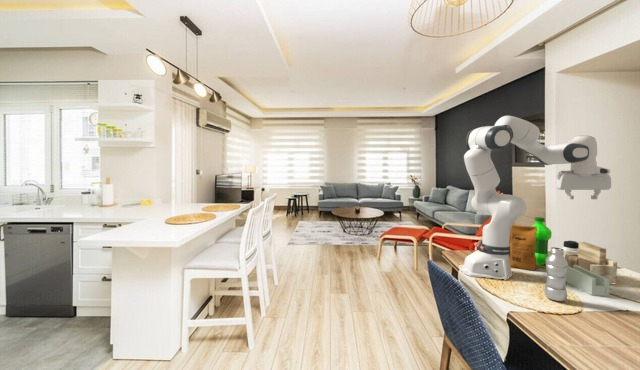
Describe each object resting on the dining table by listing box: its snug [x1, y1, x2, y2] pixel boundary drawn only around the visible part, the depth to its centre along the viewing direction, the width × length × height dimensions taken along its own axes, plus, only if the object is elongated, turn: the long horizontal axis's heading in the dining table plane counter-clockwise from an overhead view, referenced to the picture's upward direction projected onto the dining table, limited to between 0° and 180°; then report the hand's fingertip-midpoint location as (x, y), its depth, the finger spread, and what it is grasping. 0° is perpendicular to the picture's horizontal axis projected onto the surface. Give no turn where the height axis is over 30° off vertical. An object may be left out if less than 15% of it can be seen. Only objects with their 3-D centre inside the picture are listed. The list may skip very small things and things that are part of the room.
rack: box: [563, 253, 618, 284], centre depth 126 cm, size 10×18×10 cm, turn 171°
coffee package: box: [509, 223, 537, 271], centre depth 139 cm, size 10×12×22 cm
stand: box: [565, 265, 611, 297], centre depth 115 cm, size 6×17×7 cm, turn 171°
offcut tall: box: [578, 259, 597, 271], centre depth 124 cm, size 3×6×8 cm, turn 171°
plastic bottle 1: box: [531, 216, 552, 266], centre depth 144 cm, size 10×10×25 cm
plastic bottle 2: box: [543, 246, 568, 302], centre depth 103 cm, size 6×7×20 cm
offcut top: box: [569, 256, 583, 264], centre depth 130 cm, size 3×4×3 cm
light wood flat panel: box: [578, 241, 607, 265], centre depth 126 cm, size 2×12×15 cm, turn 171°
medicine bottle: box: [560, 239, 579, 254], centre depth 145 cm, size 7×7×12 cm
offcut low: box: [568, 261, 578, 268], centre depth 131 cm, size 3×5×5 cm, turn 171°
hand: (582, 199), depth 127 cm, fingers open, 8 cm apart
